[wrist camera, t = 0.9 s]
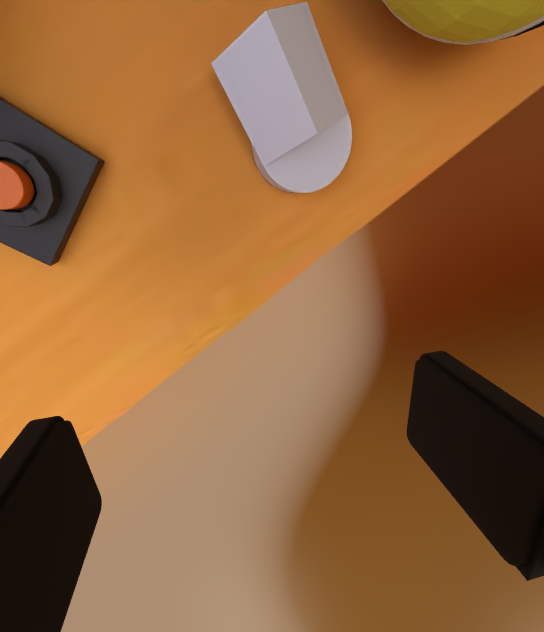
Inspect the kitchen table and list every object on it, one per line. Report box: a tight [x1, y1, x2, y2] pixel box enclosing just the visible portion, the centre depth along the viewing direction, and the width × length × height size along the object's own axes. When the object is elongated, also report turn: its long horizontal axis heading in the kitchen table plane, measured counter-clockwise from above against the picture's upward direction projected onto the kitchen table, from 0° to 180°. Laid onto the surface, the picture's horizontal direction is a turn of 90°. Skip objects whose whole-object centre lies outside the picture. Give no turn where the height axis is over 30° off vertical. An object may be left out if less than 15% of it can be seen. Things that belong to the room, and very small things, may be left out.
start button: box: [0, 161, 34, 210], centre depth 25 cm, size 4×4×2 cm
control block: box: [0, 97, 104, 266], centre depth 27 cm, size 11×9×4 cm
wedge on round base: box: [211, 2, 352, 193], centre depth 27 cm, size 9×7×13 cm
